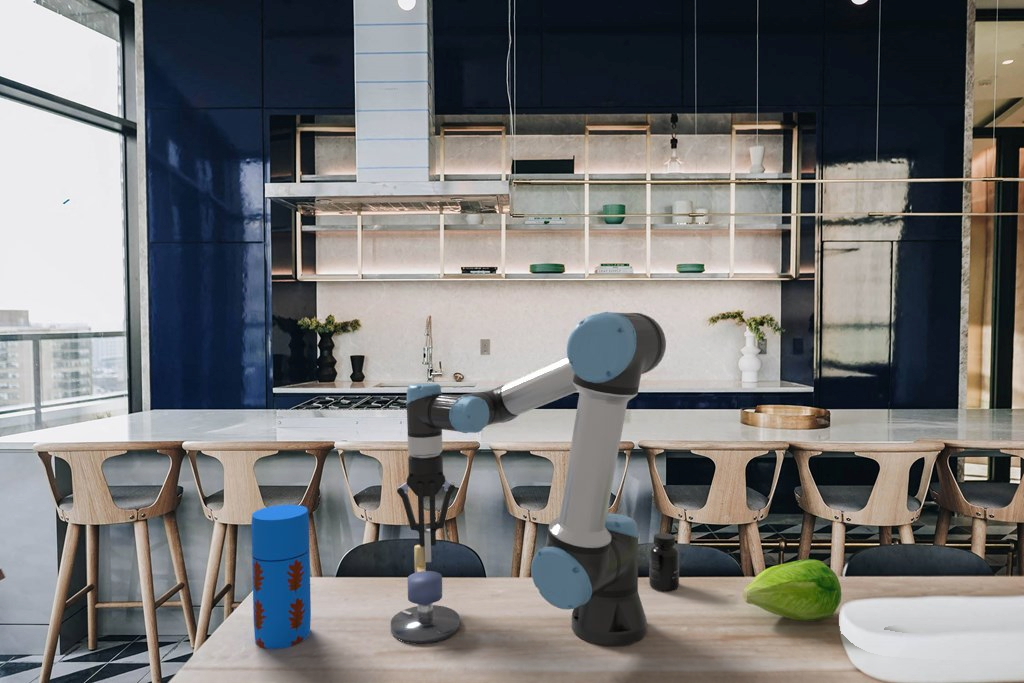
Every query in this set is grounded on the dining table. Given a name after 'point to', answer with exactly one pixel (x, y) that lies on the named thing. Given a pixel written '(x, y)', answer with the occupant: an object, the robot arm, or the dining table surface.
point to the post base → (425, 624)
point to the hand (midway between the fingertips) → (428, 559)
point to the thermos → (281, 575)
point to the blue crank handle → (423, 581)
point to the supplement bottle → (664, 563)
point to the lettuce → (796, 590)
